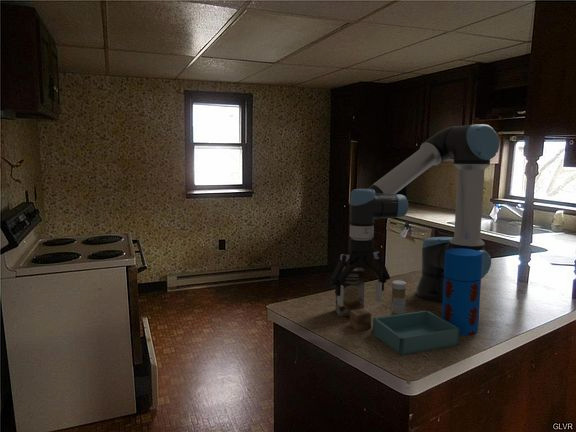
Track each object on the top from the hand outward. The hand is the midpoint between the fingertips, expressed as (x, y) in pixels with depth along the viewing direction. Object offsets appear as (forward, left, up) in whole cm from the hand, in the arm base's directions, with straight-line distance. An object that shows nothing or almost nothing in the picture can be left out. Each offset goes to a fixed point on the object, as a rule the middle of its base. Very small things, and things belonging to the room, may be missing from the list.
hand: (359, 303), depth 138 cm
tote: (-11, +14, -8) cm, 20 cm away
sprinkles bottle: (-14, 0, -8) cm, 17 cm away
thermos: (-29, +12, -8) cm, 33 cm away
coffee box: (-2, -12, -8) cm, 15 cm away
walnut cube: (0, 0, -8) cm, 8 cm away
